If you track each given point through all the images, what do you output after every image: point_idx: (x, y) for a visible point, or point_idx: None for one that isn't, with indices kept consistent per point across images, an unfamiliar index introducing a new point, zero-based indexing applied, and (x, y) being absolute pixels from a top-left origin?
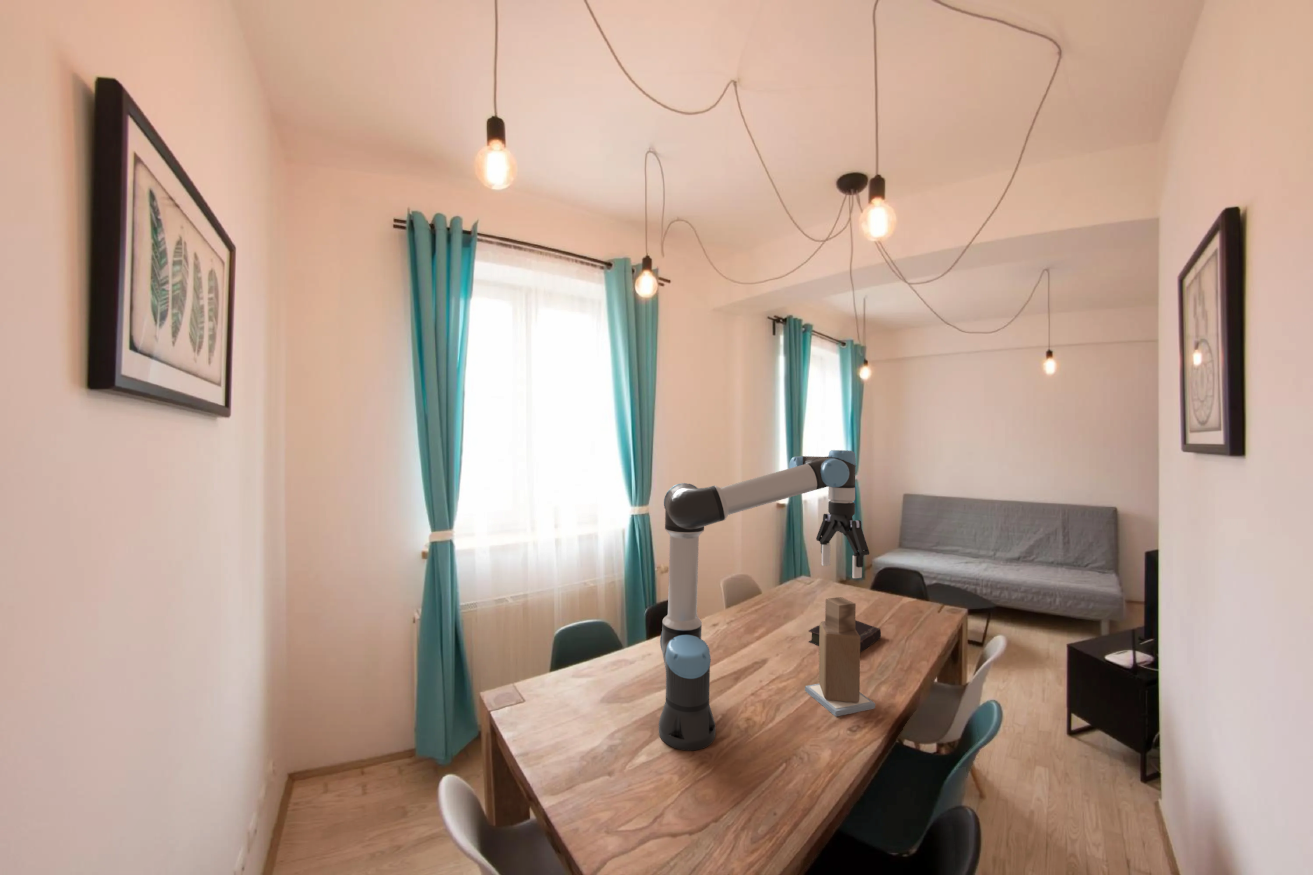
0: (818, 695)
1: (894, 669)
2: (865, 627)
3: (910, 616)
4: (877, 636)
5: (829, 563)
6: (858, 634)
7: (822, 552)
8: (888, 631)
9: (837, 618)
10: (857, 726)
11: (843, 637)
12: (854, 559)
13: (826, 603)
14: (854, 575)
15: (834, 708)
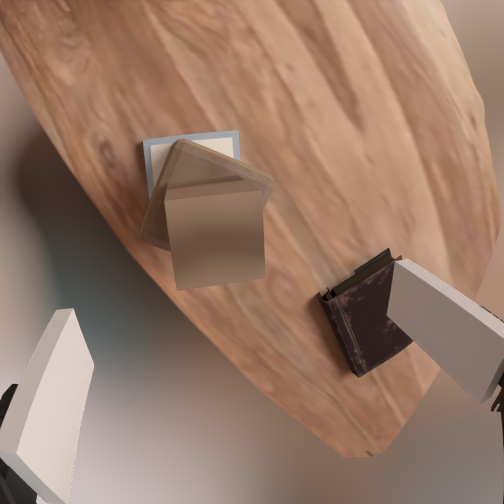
0: (199, 137)
1: (262, 338)
2: (371, 359)
3: (376, 425)
4: (349, 364)
5: (393, 316)
6: (150, 243)
7: (466, 304)
8: (361, 387)
9: (175, 189)
10: (110, 163)
11: (154, 189)
12: (5, 418)
13: (250, 187)
14: (50, 324)
15: (152, 143)
